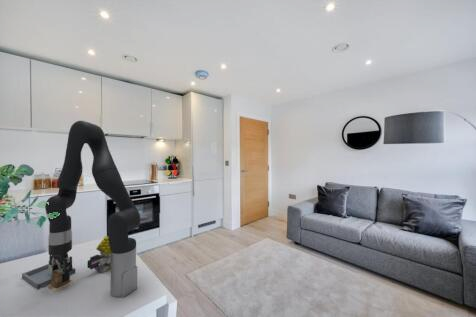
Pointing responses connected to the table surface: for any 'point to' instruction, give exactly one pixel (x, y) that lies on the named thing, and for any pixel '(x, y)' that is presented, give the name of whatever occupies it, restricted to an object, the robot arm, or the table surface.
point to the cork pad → (59, 287)
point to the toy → (101, 257)
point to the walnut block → (58, 279)
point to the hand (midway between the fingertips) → (60, 278)
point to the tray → (40, 276)
